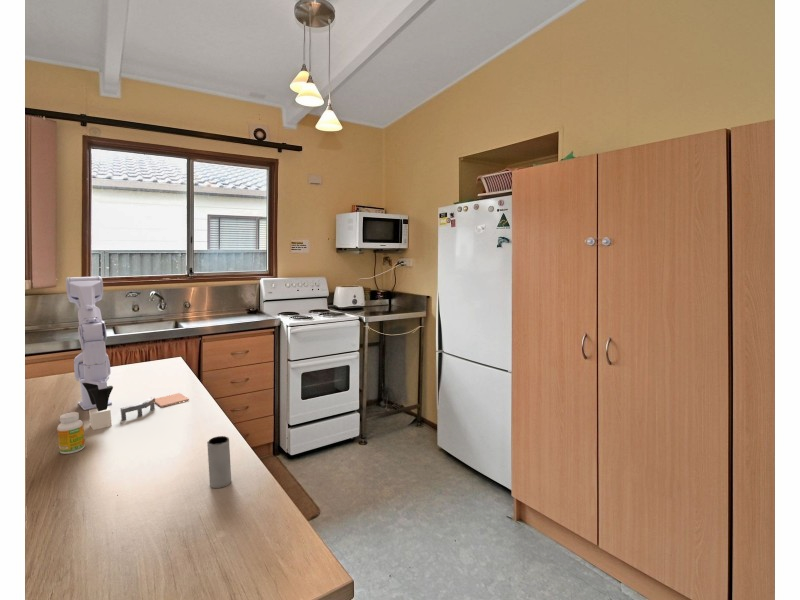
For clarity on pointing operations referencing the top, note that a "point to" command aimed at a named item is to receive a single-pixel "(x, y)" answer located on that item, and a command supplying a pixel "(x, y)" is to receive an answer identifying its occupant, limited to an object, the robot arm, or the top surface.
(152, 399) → the bent rail
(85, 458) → the top surface
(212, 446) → the grey tube
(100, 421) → the cream block
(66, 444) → the supplement bottle
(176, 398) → the terracotta tile
